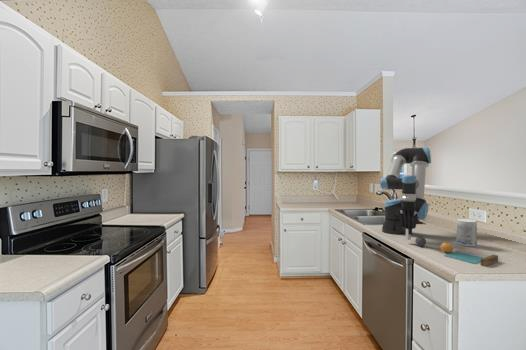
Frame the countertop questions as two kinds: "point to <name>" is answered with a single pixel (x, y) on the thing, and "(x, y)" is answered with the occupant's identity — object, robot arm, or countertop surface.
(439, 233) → the countertop surface
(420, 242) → the gray ball
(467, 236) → the supplement tub
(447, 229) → the countertop surface
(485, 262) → the wall
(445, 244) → the object ball
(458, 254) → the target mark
